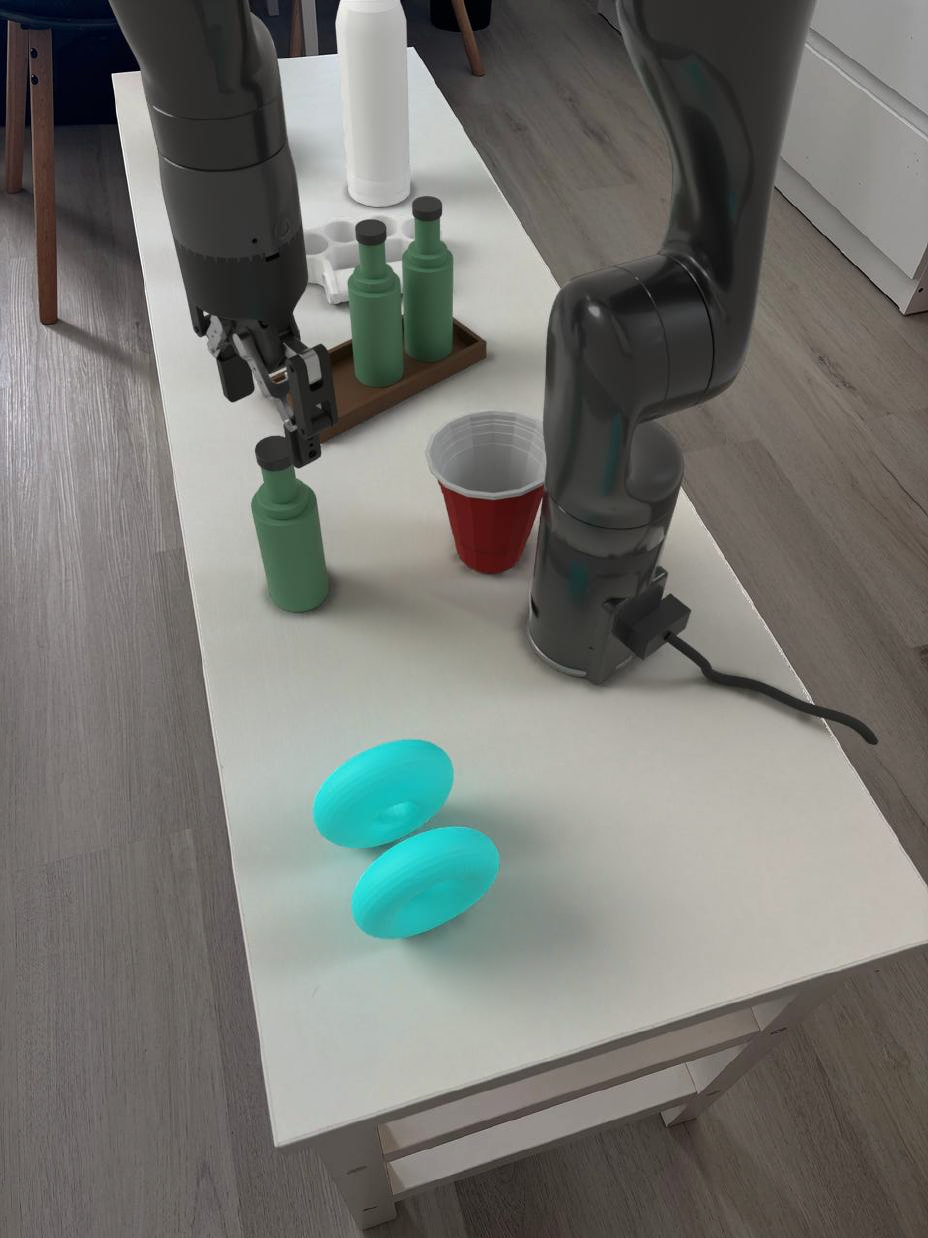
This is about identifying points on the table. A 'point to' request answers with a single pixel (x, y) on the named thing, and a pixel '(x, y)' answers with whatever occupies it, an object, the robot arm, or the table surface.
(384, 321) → the tray bottle
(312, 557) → the loose bottle
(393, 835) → the turquoise yo-yo
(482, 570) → the plastic cup
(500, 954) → the table surface
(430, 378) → the tray
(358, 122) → the bottle
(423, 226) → the tray bottle
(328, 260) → the white piece
